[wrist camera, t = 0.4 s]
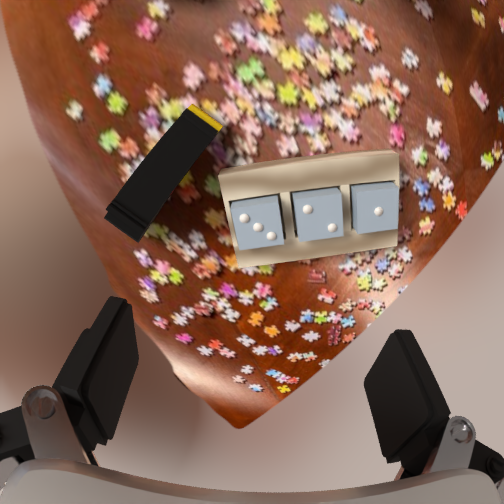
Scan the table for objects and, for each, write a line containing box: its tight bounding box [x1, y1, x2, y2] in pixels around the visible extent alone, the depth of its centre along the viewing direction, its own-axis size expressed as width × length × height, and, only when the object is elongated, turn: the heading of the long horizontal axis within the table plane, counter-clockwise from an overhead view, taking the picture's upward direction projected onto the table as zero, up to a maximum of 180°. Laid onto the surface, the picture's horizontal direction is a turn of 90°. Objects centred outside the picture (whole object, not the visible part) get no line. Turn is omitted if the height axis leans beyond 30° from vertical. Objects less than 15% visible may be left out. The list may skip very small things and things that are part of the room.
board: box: [218, 149, 399, 268], centre depth 41 cm, size 14×24×4 cm, turn 100°
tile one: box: [351, 182, 399, 234], centre depth 38 cm, size 6×6×3 cm
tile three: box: [230, 195, 284, 250], centre depth 40 cm, size 6×6×3 cm
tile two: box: [292, 187, 343, 242], centre depth 39 cm, size 6×6×3 cm
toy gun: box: [104, 104, 223, 243], centre depth 39 cm, size 5×18×12 cm
